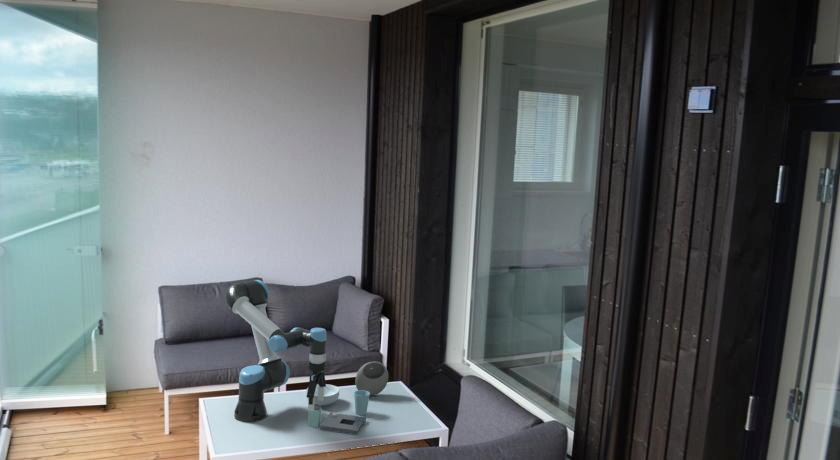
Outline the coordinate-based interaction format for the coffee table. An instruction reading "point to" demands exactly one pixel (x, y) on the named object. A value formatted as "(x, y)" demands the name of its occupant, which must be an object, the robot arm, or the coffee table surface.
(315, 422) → the plug
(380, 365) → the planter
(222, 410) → the coffee table surface
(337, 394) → the cereal bowl
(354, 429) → the socket plate
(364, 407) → the cup
